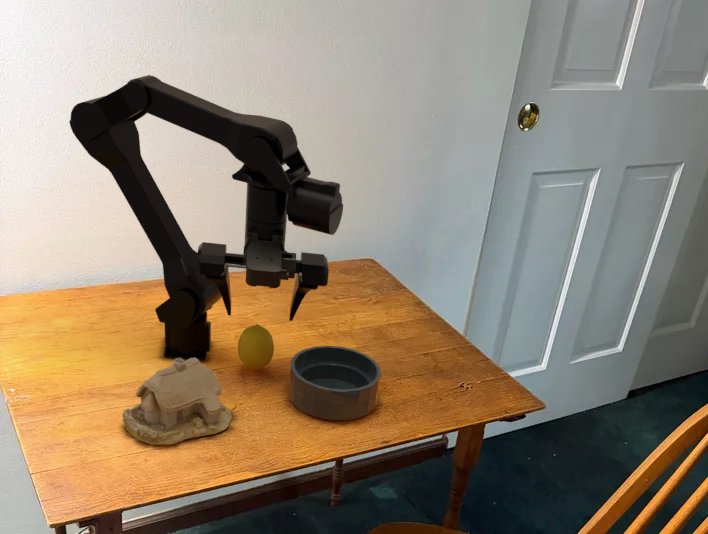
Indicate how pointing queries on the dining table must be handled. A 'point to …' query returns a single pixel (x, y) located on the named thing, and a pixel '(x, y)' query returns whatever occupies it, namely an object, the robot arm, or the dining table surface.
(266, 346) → the lemon
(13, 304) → the dining table surface
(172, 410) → the ceramic model
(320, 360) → the grey pet bowl
